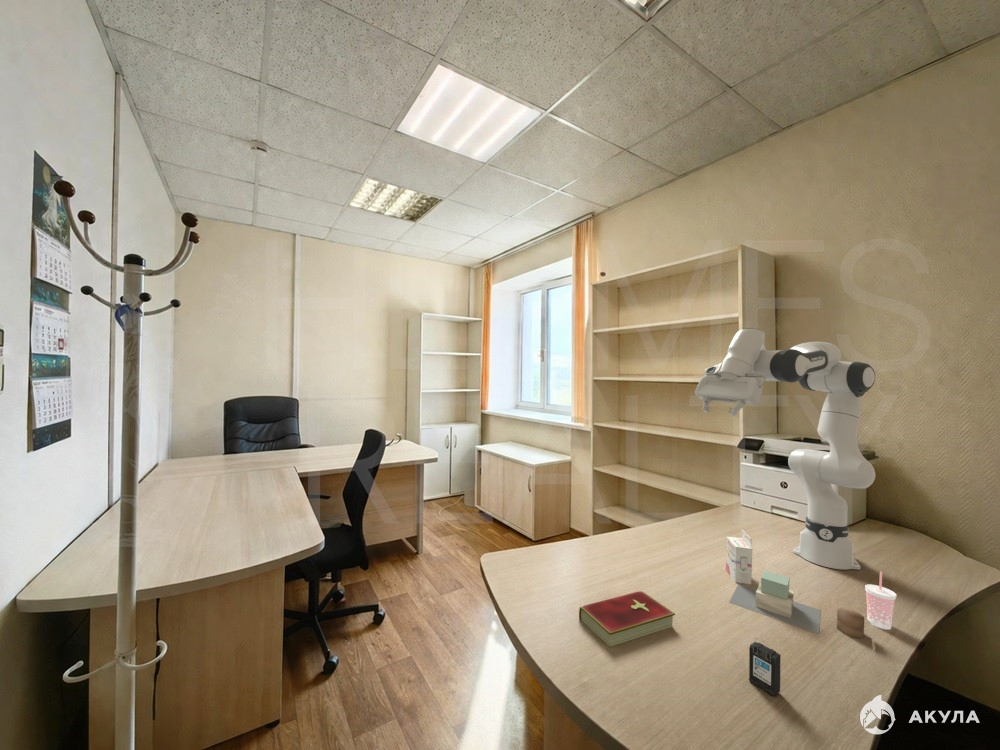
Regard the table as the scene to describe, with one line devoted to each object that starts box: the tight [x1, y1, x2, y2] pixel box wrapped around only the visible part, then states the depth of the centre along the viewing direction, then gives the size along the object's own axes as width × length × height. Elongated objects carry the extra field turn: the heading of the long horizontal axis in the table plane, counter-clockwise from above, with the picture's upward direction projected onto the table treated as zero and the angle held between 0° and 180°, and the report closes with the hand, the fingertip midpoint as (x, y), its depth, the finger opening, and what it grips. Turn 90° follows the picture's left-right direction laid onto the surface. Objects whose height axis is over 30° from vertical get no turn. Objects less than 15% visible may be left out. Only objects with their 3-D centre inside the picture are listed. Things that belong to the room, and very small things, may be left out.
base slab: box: [756, 580, 795, 618], centre depth 112 cm, size 8×8×4 cm
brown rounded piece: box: [836, 607, 865, 639], centre depth 102 cm, size 5×5×5 cm
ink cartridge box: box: [725, 529, 753, 585], centre depth 129 cm, size 9×5×15 cm, turn 168°
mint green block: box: [760, 569, 791, 600], centre depth 112 cm, size 6×6×4 cm
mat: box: [728, 583, 822, 635], centre depth 112 cm, size 14×20×1 cm
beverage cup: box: [864, 570, 897, 630], centre depth 107 cm, size 6×6×14 cm
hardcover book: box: [578, 590, 676, 648], centre depth 103 cm, size 12×21×4 cm, turn 115°
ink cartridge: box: [748, 641, 781, 697], centre depth 83 cm, size 5×2×8 cm, turn 32°
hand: (717, 413), depth 123 cm, fingers open, 8 cm apart
